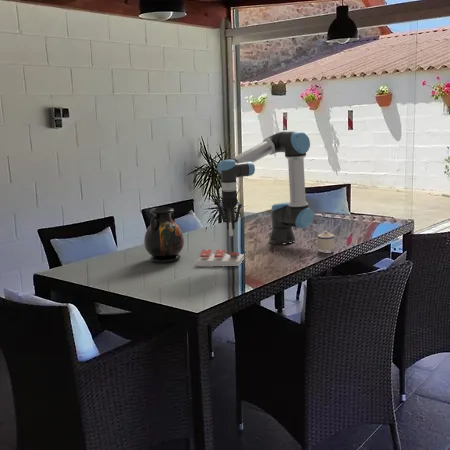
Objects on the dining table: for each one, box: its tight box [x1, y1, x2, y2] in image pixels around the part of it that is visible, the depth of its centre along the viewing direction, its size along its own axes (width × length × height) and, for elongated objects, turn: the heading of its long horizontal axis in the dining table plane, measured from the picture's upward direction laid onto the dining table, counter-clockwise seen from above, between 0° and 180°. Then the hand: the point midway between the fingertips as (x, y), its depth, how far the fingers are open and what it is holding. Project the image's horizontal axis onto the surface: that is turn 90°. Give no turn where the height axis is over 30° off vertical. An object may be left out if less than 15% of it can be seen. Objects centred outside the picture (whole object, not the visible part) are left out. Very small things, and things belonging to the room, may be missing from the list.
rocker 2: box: [214, 249, 226, 258], centre depth 304 cm, size 4×6×3 cm
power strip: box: [196, 253, 245, 268], centre depth 306 cm, size 22×14×3 cm, turn 77°
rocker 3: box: [227, 251, 240, 258], centre depth 302 cm, size 4×6×3 cm
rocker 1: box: [199, 249, 212, 258], centre depth 306 cm, size 4×6×3 cm
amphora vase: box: [143, 206, 185, 264], centre depth 315 cm, size 22×22×28 cm
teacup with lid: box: [312, 230, 335, 250], centre depth 319 cm, size 12×9×12 cm
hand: (231, 235), depth 303 cm, fingers closed
